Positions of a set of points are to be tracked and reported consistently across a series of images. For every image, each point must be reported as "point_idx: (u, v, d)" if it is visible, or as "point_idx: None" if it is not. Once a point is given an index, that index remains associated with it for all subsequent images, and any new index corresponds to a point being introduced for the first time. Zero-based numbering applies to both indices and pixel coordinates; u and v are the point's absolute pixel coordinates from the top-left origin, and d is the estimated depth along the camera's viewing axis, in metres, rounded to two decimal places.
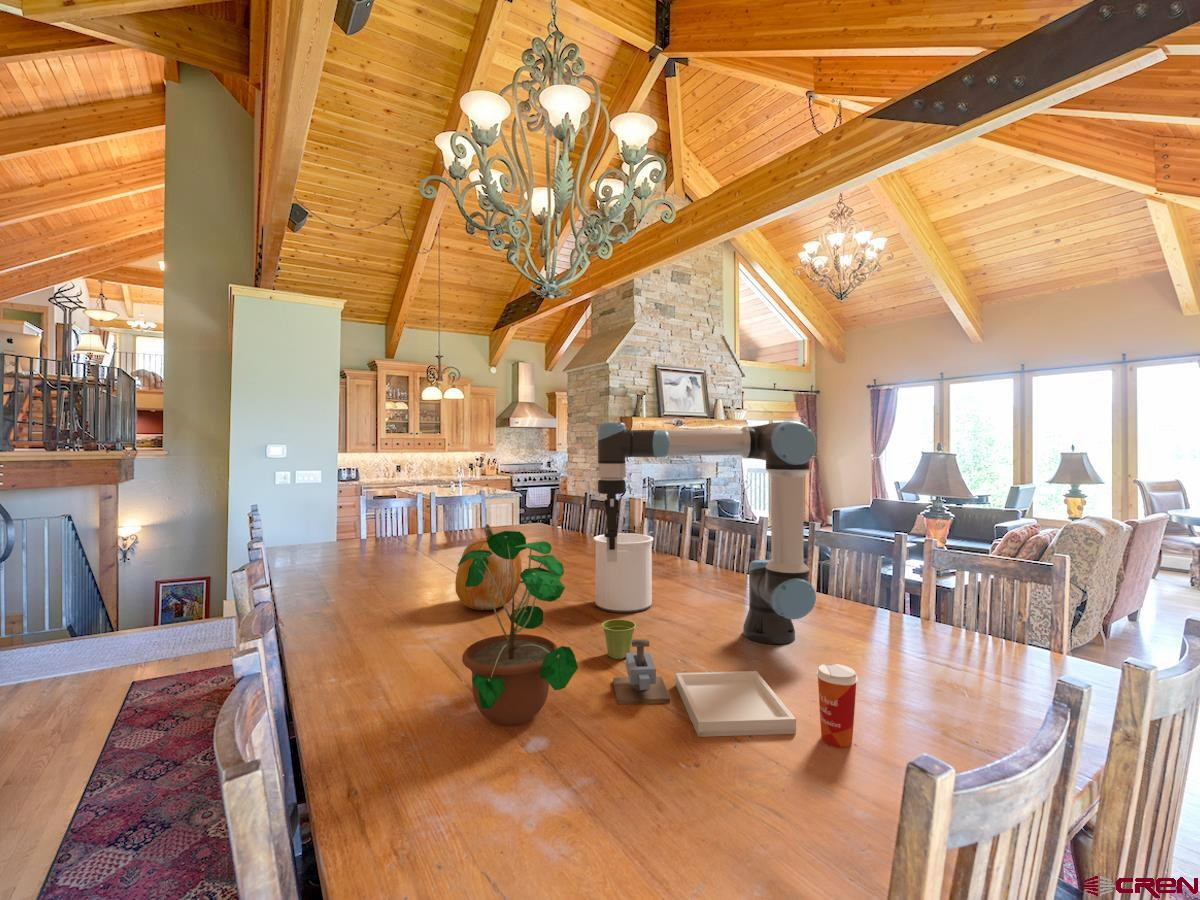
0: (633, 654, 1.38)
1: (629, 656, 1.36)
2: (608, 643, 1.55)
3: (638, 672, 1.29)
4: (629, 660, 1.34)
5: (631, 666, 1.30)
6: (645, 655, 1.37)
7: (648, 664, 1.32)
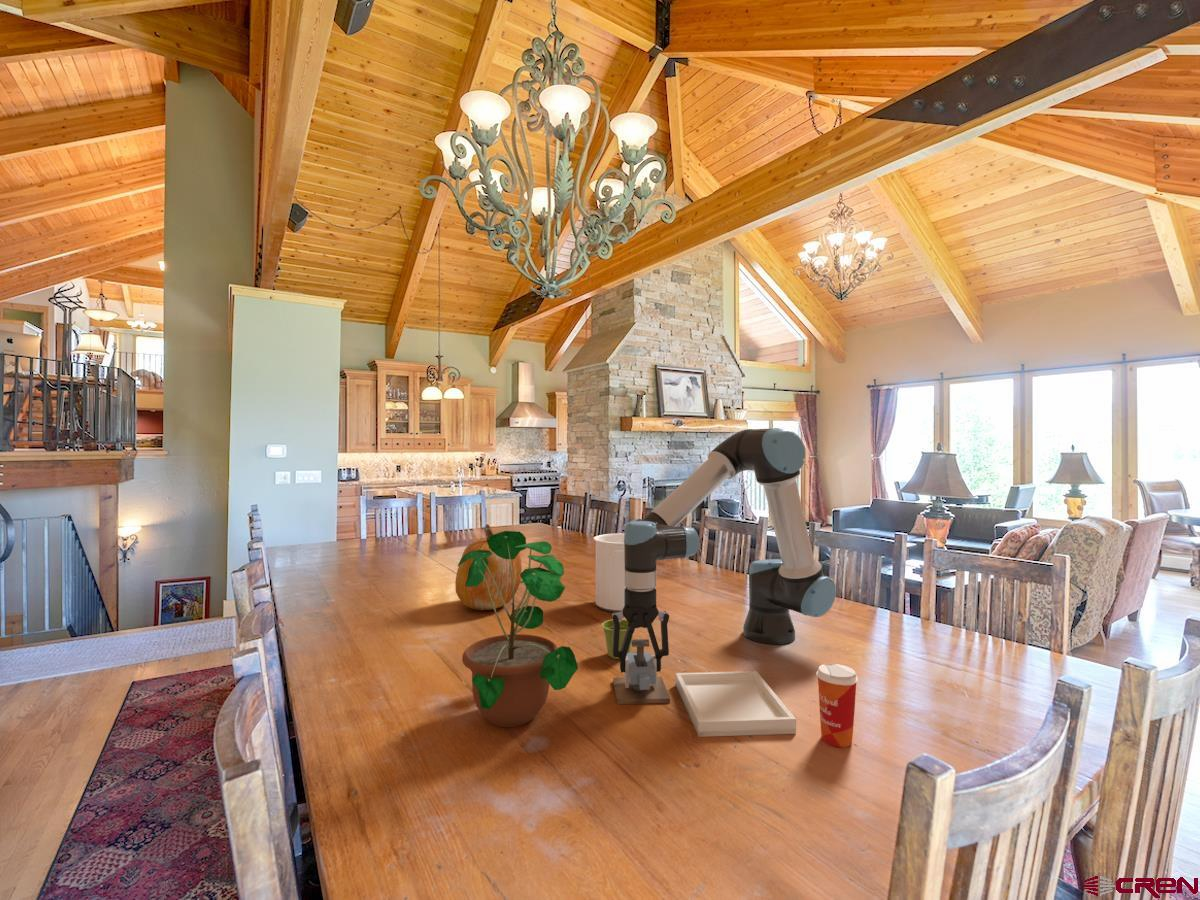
0: (633, 654, 1.38)
1: (629, 656, 1.36)
2: (608, 643, 1.55)
3: (638, 672, 1.29)
4: (629, 660, 1.34)
5: (631, 666, 1.30)
6: (645, 655, 1.37)
7: (648, 664, 1.32)
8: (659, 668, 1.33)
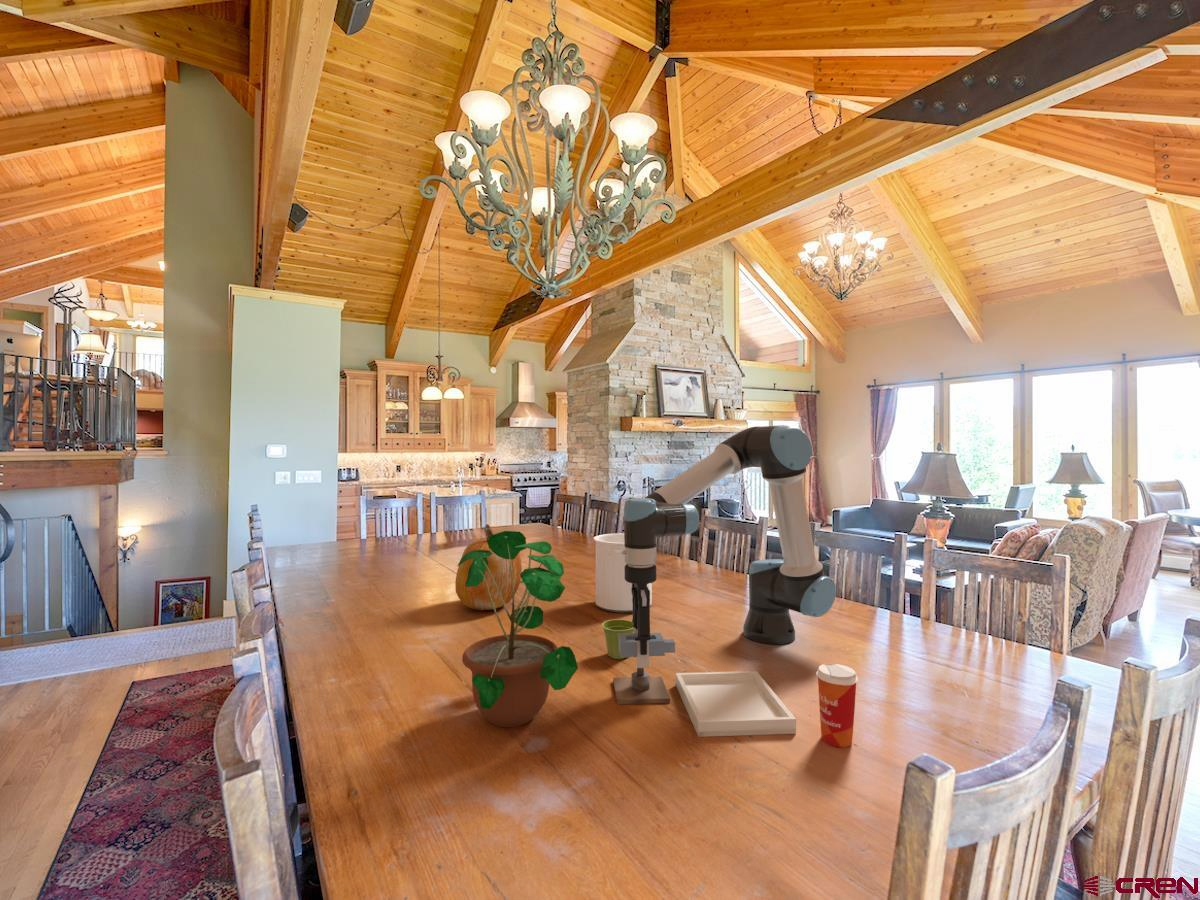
0: (624, 639, 1.32)
1: (630, 641, 1.31)
2: (608, 643, 1.55)
3: None
4: None
5: (656, 640, 1.31)
6: (626, 635, 1.35)
7: None
8: None
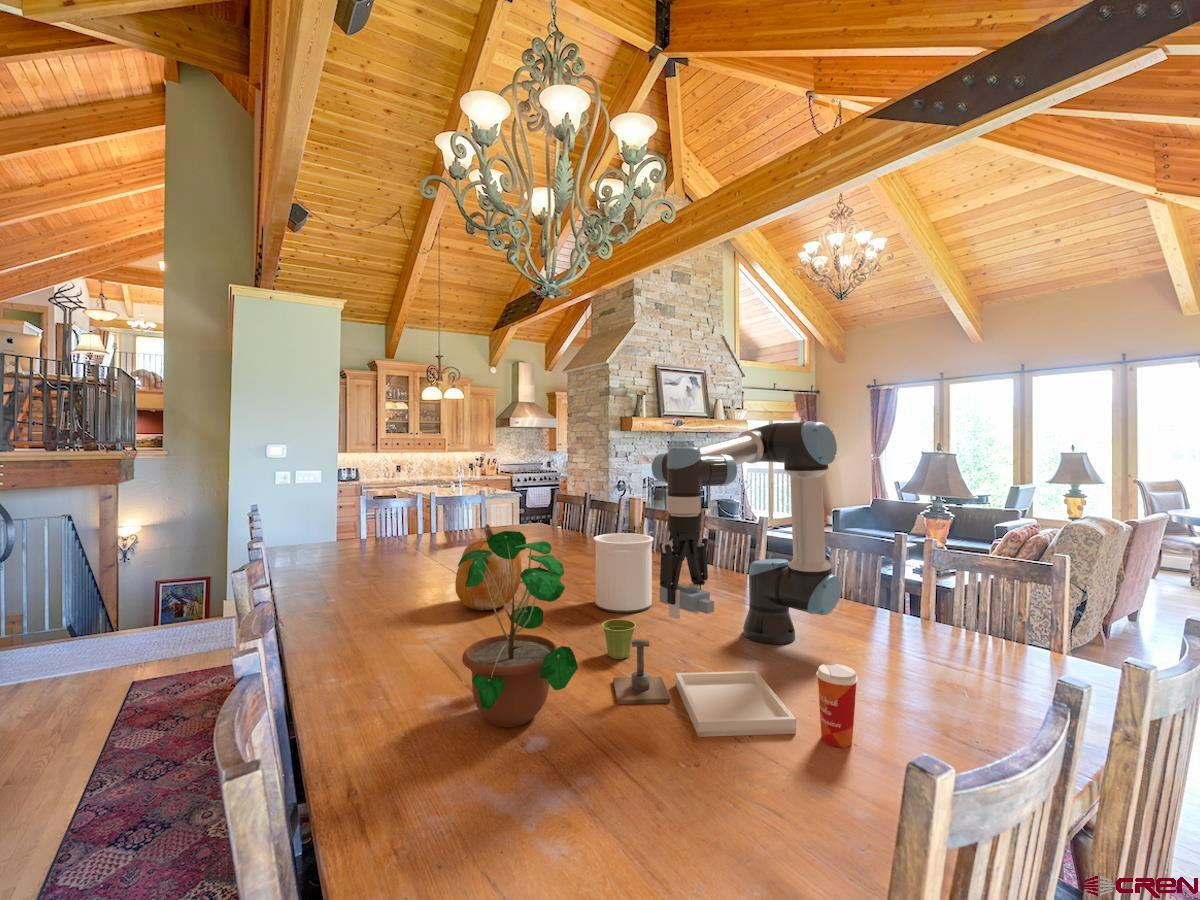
0: None
1: None
2: (608, 643, 1.55)
3: (697, 598, 1.25)
4: None
5: (687, 594, 1.26)
6: (679, 585, 1.33)
7: (696, 590, 1.29)
8: None
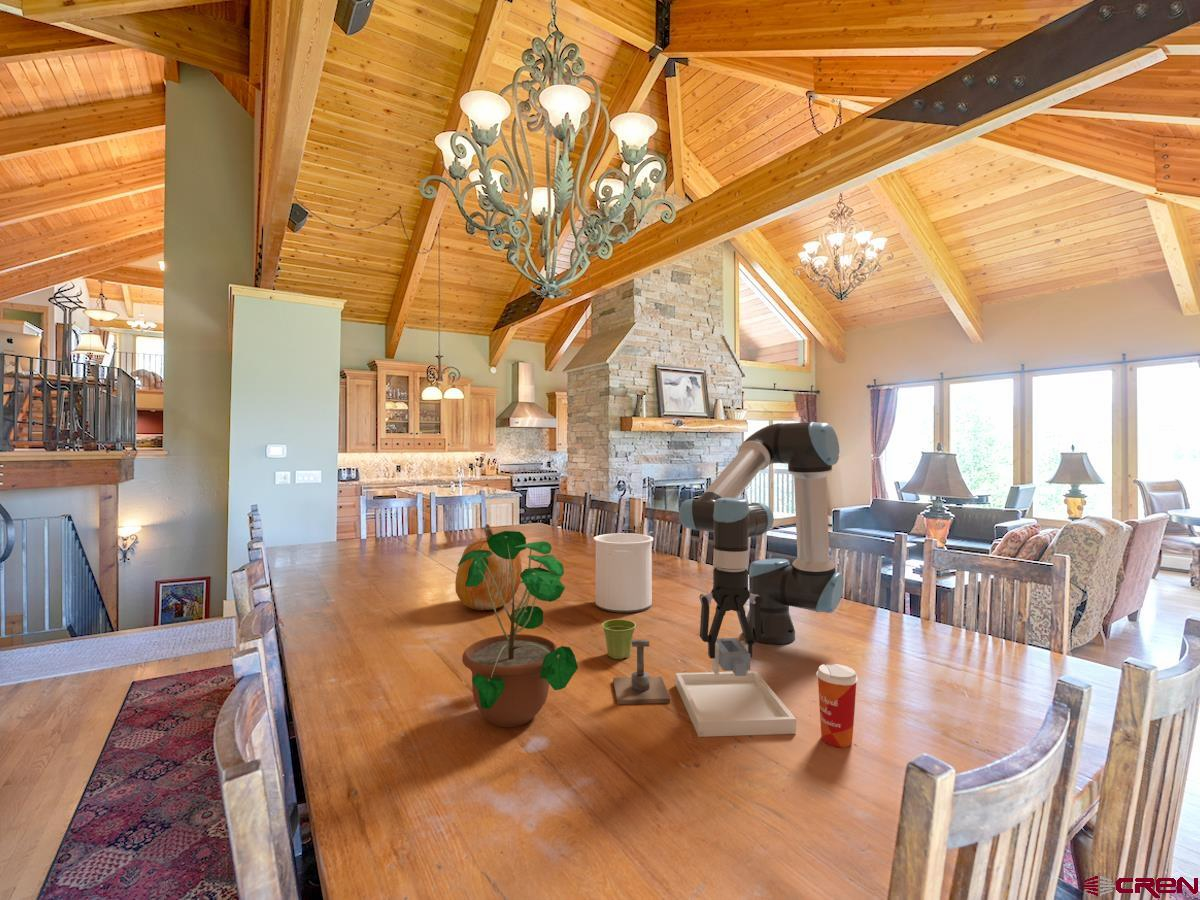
0: (720, 639, 1.30)
1: (716, 641, 1.28)
2: (608, 643, 1.55)
3: (731, 658, 1.20)
4: None
5: (723, 651, 1.22)
6: (733, 640, 1.29)
7: (740, 649, 1.23)
8: (750, 654, 1.25)
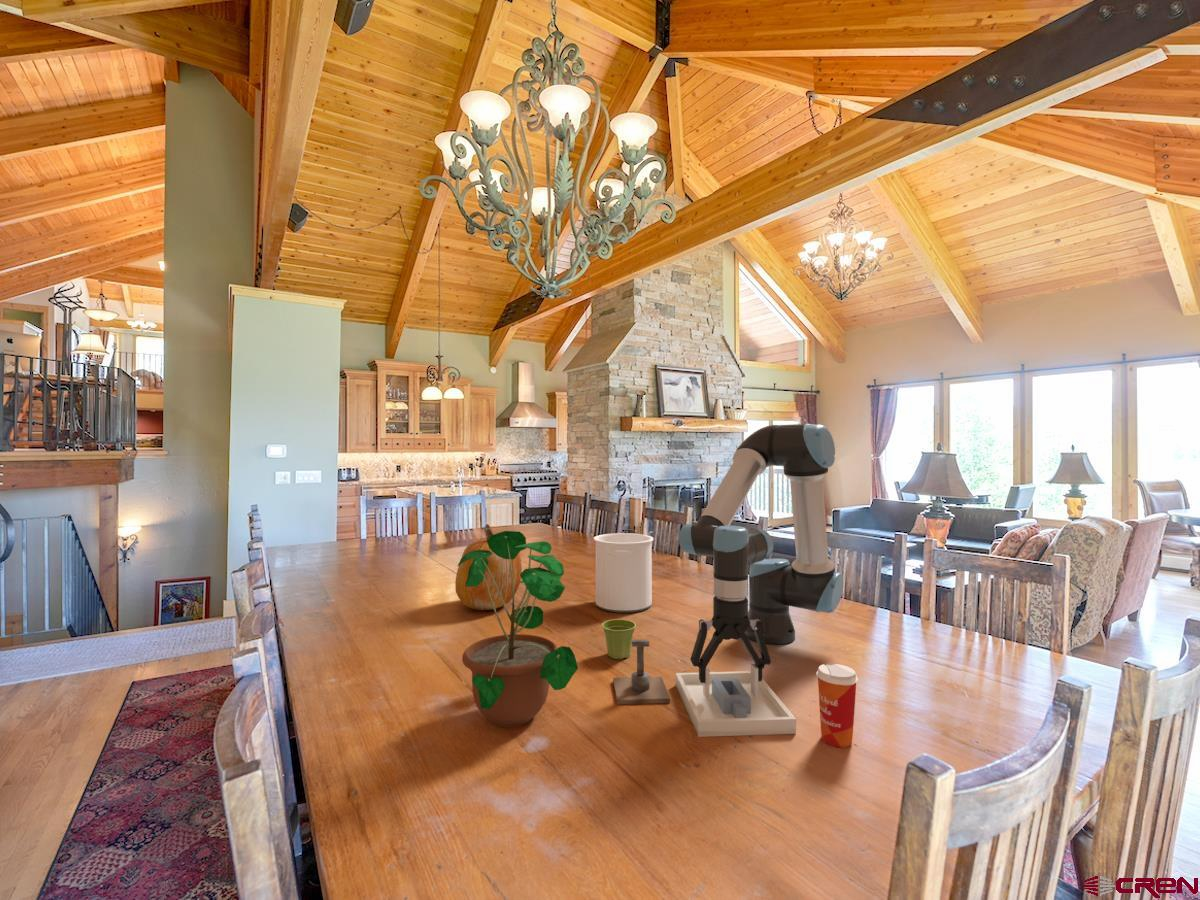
0: (720, 680, 1.30)
1: (717, 682, 1.29)
2: (608, 643, 1.55)
3: (732, 701, 1.21)
4: (718, 687, 1.26)
5: (723, 694, 1.22)
6: (733, 681, 1.29)
7: (740, 692, 1.24)
8: (760, 678, 1.26)
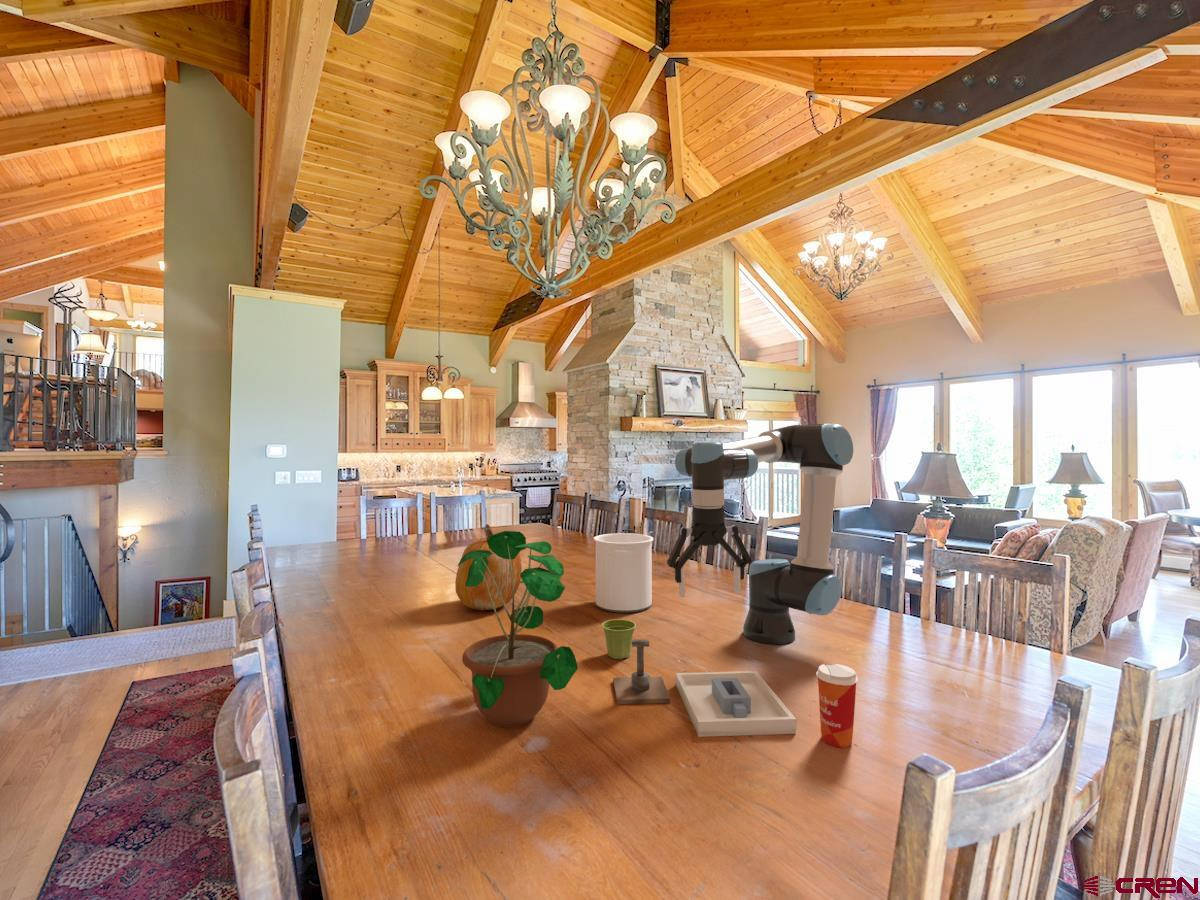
0: (720, 680, 1.30)
1: (717, 682, 1.29)
2: (608, 643, 1.55)
3: (732, 701, 1.21)
4: (718, 687, 1.26)
5: (723, 694, 1.22)
6: (733, 681, 1.29)
7: (740, 692, 1.24)
8: (742, 576, 1.36)
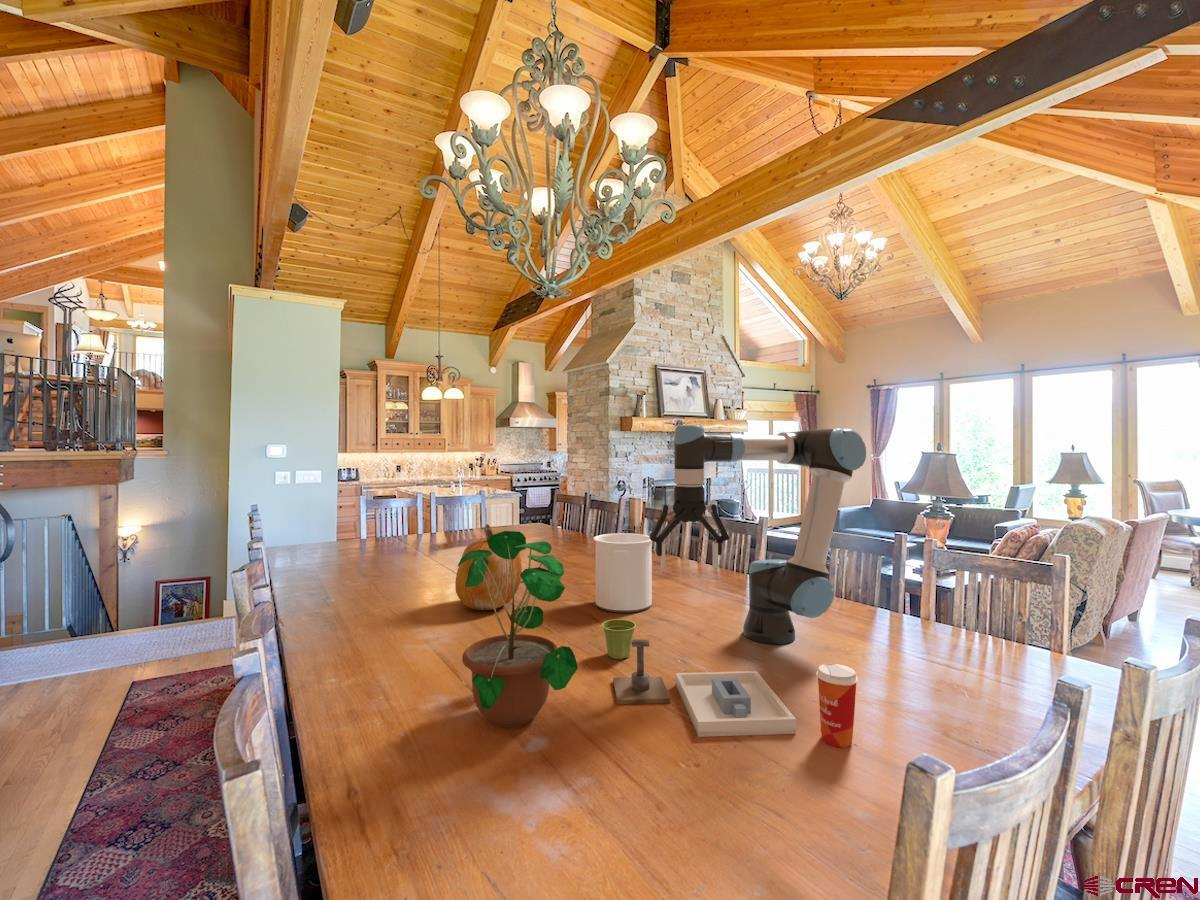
0: (720, 680, 1.30)
1: (717, 682, 1.29)
2: (608, 643, 1.55)
3: (732, 701, 1.21)
4: (718, 687, 1.26)
5: (723, 694, 1.22)
6: (733, 681, 1.29)
7: (740, 692, 1.24)
8: (720, 552, 1.45)
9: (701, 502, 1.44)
